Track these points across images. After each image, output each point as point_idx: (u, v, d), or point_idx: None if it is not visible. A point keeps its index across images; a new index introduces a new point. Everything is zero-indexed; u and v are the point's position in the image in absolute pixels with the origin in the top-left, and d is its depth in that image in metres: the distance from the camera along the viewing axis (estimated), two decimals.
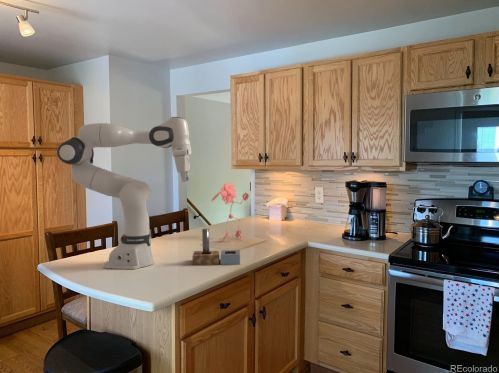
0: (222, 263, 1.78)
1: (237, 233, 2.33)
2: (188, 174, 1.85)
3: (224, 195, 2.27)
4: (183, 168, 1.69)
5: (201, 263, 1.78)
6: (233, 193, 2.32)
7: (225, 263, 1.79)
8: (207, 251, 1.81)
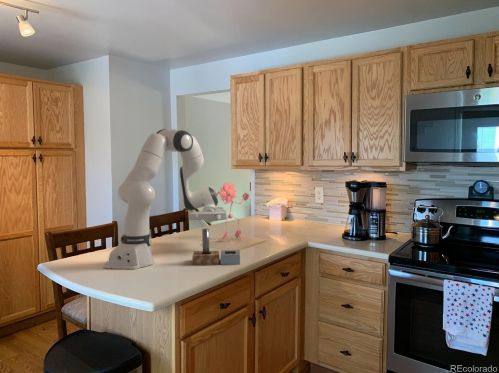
0: (222, 263, 1.78)
1: (237, 233, 2.33)
2: (196, 219, 1.96)
3: (223, 195, 2.28)
4: (227, 217, 2.00)
5: (201, 263, 1.78)
6: (233, 193, 2.32)
7: (225, 263, 1.79)
8: (207, 251, 1.81)
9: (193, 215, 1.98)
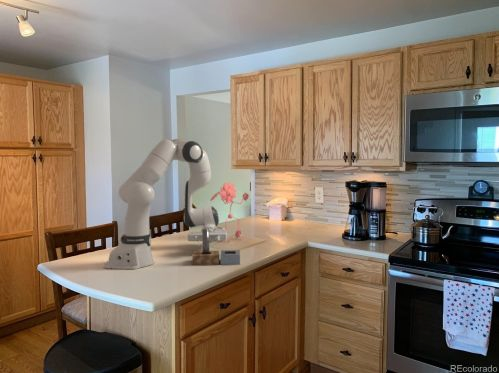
0: (222, 263, 1.78)
1: (237, 233, 2.33)
2: (195, 240, 1.92)
3: (223, 195, 2.28)
4: None
5: (201, 263, 1.78)
6: (233, 193, 2.32)
7: (225, 263, 1.79)
8: (207, 251, 1.81)
9: (192, 236, 1.94)
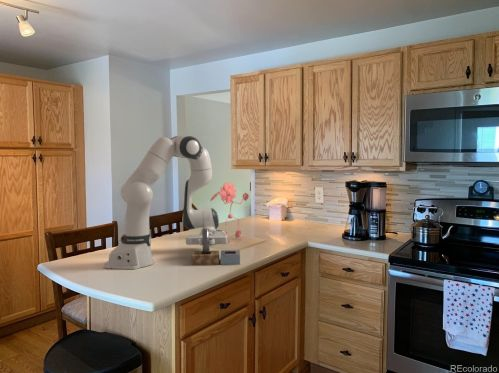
0: (222, 263, 1.78)
1: (237, 233, 2.33)
2: (198, 243, 1.84)
3: (223, 195, 2.28)
4: None
5: (201, 263, 1.78)
6: (233, 193, 2.32)
7: (225, 263, 1.79)
8: (207, 251, 1.81)
9: (190, 239, 1.85)
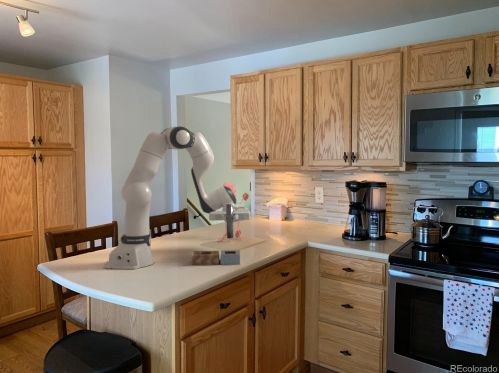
0: (222, 263, 1.78)
1: (237, 233, 2.33)
2: (222, 219, 1.84)
3: None
4: None
5: (201, 263, 1.78)
6: None
7: (225, 263, 1.79)
8: (231, 226, 1.81)
9: (214, 215, 1.85)
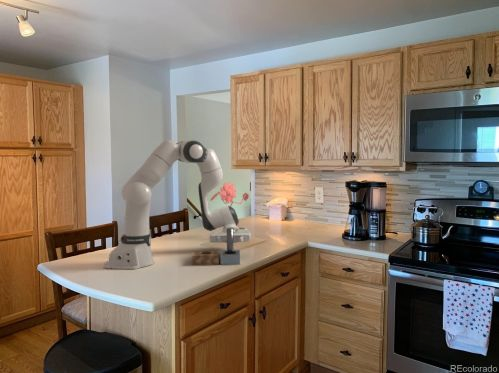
0: (222, 263, 1.78)
1: None
2: (217, 241, 1.84)
3: (223, 195, 2.28)
4: (250, 239, 1.88)
5: (201, 263, 1.78)
6: (233, 193, 2.32)
7: (225, 263, 1.79)
8: (231, 250, 1.81)
9: (214, 237, 1.86)
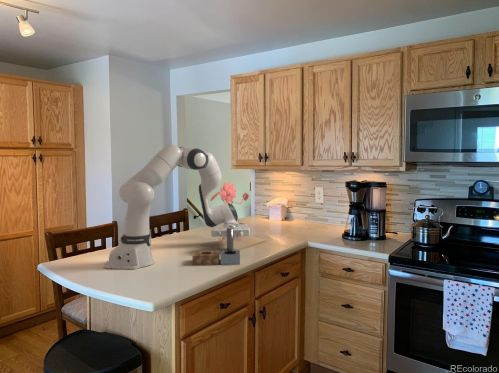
0: (222, 263, 1.78)
1: None
2: (218, 236, 1.97)
3: (223, 195, 2.28)
4: (249, 234, 2.00)
5: (201, 263, 1.78)
6: (233, 193, 2.32)
7: (225, 263, 1.79)
8: (231, 250, 1.81)
9: (216, 232, 1.98)
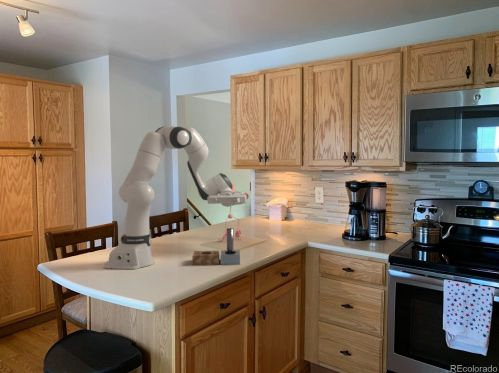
0: (222, 263, 1.78)
1: (237, 233, 2.33)
2: (214, 202, 1.95)
3: None
4: (246, 201, 1.99)
5: (201, 263, 1.78)
6: None
7: (225, 263, 1.79)
8: (231, 250, 1.81)
9: (212, 198, 1.96)
